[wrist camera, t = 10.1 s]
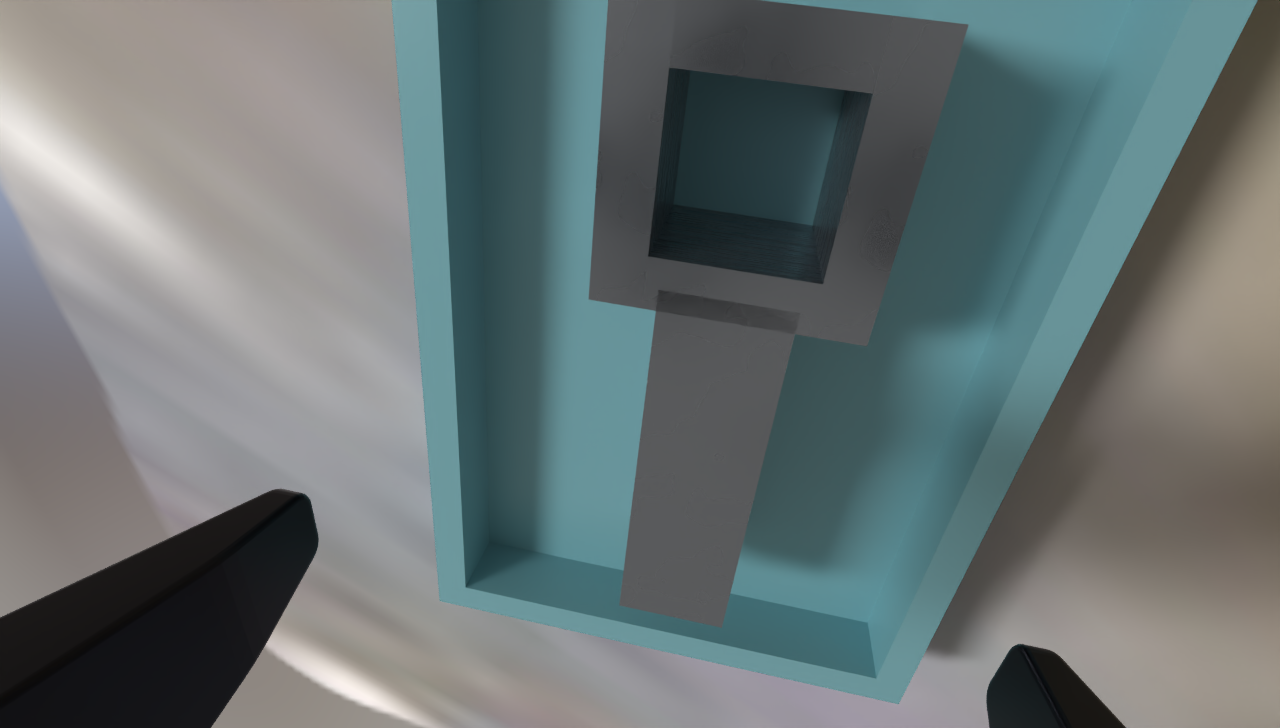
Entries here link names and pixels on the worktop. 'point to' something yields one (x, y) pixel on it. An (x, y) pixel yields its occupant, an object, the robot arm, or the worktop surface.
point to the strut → (744, 254)
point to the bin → (817, 368)
